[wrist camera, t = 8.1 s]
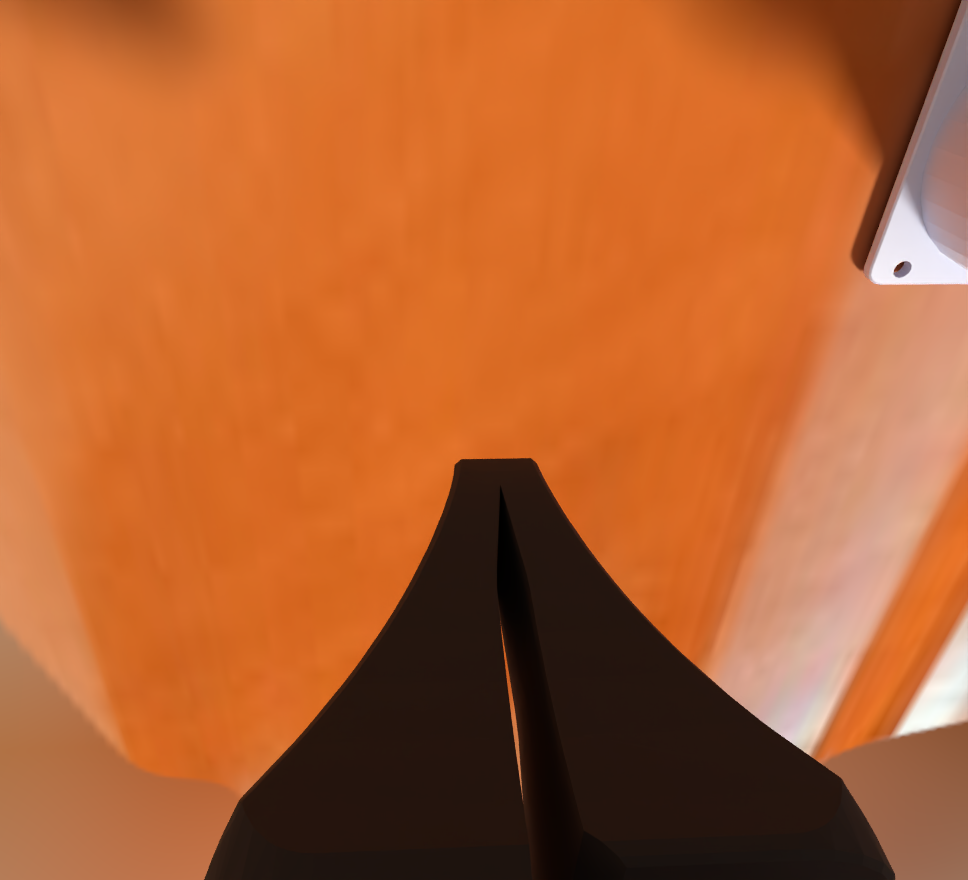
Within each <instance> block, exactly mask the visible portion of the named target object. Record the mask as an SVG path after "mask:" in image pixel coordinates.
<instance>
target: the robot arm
mask: <svg viewBox="0 0 968 880" xmlns="http://www.w3.org/2000/svg"><path fill="white" fill-rule="evenodd" d="M903 261H904V265H903V266H902V268H901V269H900V270H899V271H897V272H894V269H895V267H896V266H897V265H898V264H899V263H901V262H903ZM864 274H865V277H866V278H868V279H869V280H870V281H871V282H873V283H875V284H879V285H887V284H968V0H962V1H961V4H960V7H959V10H958V12H957V15H956V18H955V20H954V23H953V26H952V29H951V31H950V34H949V37H948V40H947V42H946V45H945V48H944V50H943V53H942V56H941V59H940V61H939V64H938V67H937V70H936V72H935V75H934V78H933V80H932V83H931V86H930V89H929V91H928V94H927V97H926V100H925V102H924V105H923V108H922V110H921V113H920V116H919V119H918V121H917V124H916V127H915V130H914V132H913V135H912V138H911V140H910V143H909V146H908V149H907V151H906V154H905V157H904V160H903V162H902V165H901V168H900V170H899V173H898V176H897V179H896V181H895V184H894V187H893V190H892V192H891V195H890V198H889V200H888V203H887V206H886V209H885V211H884V214H883V217H882V220H881V222H880V225H879V228H878V230H877V233H876V236H875V239H874V241H873V244H872V247H871V250H870V252H869V255H868V258H867V260H866V263H865V266H864ZM500 621H501V623H500ZM501 627H502V633H503V639H504V645H505V652H506V658H507V664H508V670H509V676H510V682H511V688H512V694H513V700H514V706H515V713H516V721H517V729H518V737H519V751H520V765H521V779H522V793H523V800H522V793H521V785H520V778H519V771H518V764H517V757H516V749H515V742H514V735H513V727H512V719H511V710H510V702H509V694H508V686H507V678H506V669H505V660H504V651H503V642H502V633H501ZM204 880H895V873H894V871H893V869H892V867H891V865H890V864H889V862H888V860H887V857H886V855H885V853H884V852H883V849H882V847H881V845H880V843H879V841H878V839H877V837H876V835H875V834H874V832H873V830H872V828H871V826H870V825H869V823H868V821H867V819H866V818H865V816H864V814H863V813H862V811H861V809H860V808H859V806H858V805H857V803H856V801H855V800H854V798H853V797H852V795H851V794H850V792H849V790H848V789H847V787H846V786H845V784H844V782H843V780H842V779H841V778H840V777H839V776H837V775H836V774H835V773H833V772H832V771H830V770H829V769H827V768H826V767H825V766H823V765H822V764H820V763H819V762H818V761H816V760H815V759H813V758H812V757H810V756H809V755H808V754H806V753H805V752H803V751H802V750H801V749H799V748H798V747H796V746H795V745H793V744H792V743H791V742H789V741H788V740H786V739H785V738H784V737H782V736H781V735H779V734H778V733H777V732H775V731H774V730H772V729H771V728H770V727H768V726H767V725H766V724H764V723H763V722H762V721H760V720H759V719H758V718H757V717H755V716H754V715H753V714H752V713H750V712H749V711H748V710H747V709H745V708H744V707H743V706H742V705H740V704H739V703H738V702H737V701H735V700H734V699H733V698H732V697H730V696H729V695H728V694H727V693H726V692H725V691H724V690H722V689H721V688H720V687H719V686H718V685H717V684H716V683H715V682H713V681H712V680H711V679H710V678H709V677H708V676H707V675H706V674H704V673H703V672H702V671H701V670H700V669H699V668H698V667H697V666H695V665H694V664H693V663H692V662H691V661H690V660H689V659H687V658H686V657H685V656H684V655H683V654H682V653H681V652H680V651H679V650H678V649H677V648H675V647H674V646H673V645H672V644H671V643H670V642H669V641H668V640H667V639H666V638H665V637H664V636H663V635H662V634H661V633H660V632H659V631H658V630H657V629H656V628H655V627H654V626H653V625H652V623H651V622H650V621H649V620H648V619H647V618H646V617H645V616H644V615H643V614H642V613H641V612H640V611H639V609H638V608H637V607H636V606H635V605H634V604H633V603H632V602H631V601H630V600H629V598H628V597H627V596H626V595H625V594H624V593H623V591H622V590H621V589H620V588H619V587H618V586H617V584H616V583H615V582H614V581H613V579H612V578H611V577H610V576H609V574H608V573H607V572H606V571H605V569H604V568H603V567H602V566H601V564H600V563H599V562H598V561H597V559H596V558H595V557H594V555H593V554H592V553H591V551H590V550H589V548H588V547H587V546H586V544H585V543H584V541H583V540H582V539H581V537H580V536H579V534H578V533H577V531H576V530H575V528H574V527H573V526H572V524H571V523H570V521H569V520H568V518H567V517H566V515H565V513H564V512H563V510H562V509H561V507H560V505H559V504H558V502H557V501H556V499H555V497H554V496H553V494H552V492H551V490H550V489H549V487H548V485H547V483H546V481H545V479H544V478H543V476H542V474H541V472H540V470H539V467H538V465H537V463H536V462H535V461H533V460H532V459H531V458H518V459H461V460H460V461H459V462H458V463H456V464H455V467H454V476H453V481H452V485H451V489H450V492H449V496H448V499H447V502H446V505H445V507H444V510H443V513H442V516H441V518H440V520H439V523H438V525H437V528H436V530H435V533H434V535H433V537H432V540H431V542H430V544H429V547H428V549H427V551H426V553H425V555H424V557H423V559H422V561H421V563H420V565H419V567H418V569H417V570H416V572H415V574H414V576H413V578H412V580H411V582H410V584H409V586H408V588H407V589H406V591H405V593H404V595H403V596H402V598H401V600H400V602H399V603H398V605H397V607H396V608H395V610H394V612H393V613H392V615H391V616H390V618H389V619H388V621H387V623H386V624H385V626H384V627H383V629H382V630H381V632H380V633H379V635H378V636H377V638H376V639H375V641H374V642H373V643H372V645H371V646H370V648H369V649H368V651H367V652H366V654H365V655H364V656H363V658H362V659H361V661H360V662H359V664H358V665H357V666H356V668H355V669H354V670H353V672H352V673H351V674H350V676H349V677H348V678H347V680H346V681H345V682H344V683H343V685H342V686H341V687H340V688H339V689H338V691H337V692H336V693H335V694H334V696H333V697H332V698H331V699H330V700H329V702H328V703H327V704H326V705H325V706H324V708H323V709H322V710H321V711H320V713H319V714H318V715H317V716H316V717H315V719H314V720H313V721H312V722H311V723H310V725H309V726H308V727H307V728H306V729H305V731H304V732H303V733H302V734H301V735H300V736H299V737H298V738H297V740H296V741H295V742H294V743H293V744H292V745H291V746H290V747H289V748H288V749H287V750H286V751H285V752H284V753H283V755H282V756H281V757H280V758H279V759H278V760H277V761H276V762H275V763H274V764H273V765H272V766H271V767H270V768H269V769H268V770H267V771H266V772H265V773H264V775H263V776H262V777H261V778H260V779H259V780H258V781H257V782H256V783H255V784H254V785H253V786H252V787H251V788H250V789H249V790H248V791H247V792H246V793H245V794H244V795H243V797H242V798H241V799H240V800H239V802H238V804H237V806H236V808H235V810H234V812H233V814H232V816H231V818H230V820H229V822H228V824H227V826H226V828H225V830H224V833H223V835H222V837H221V839H220V841H219V844H218V846H217V849H216V851H215V853H214V855H213V858H212V860H211V863H210V866H209V869H208V871H207V874H206V876H205V879H204Z"/></svg>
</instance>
